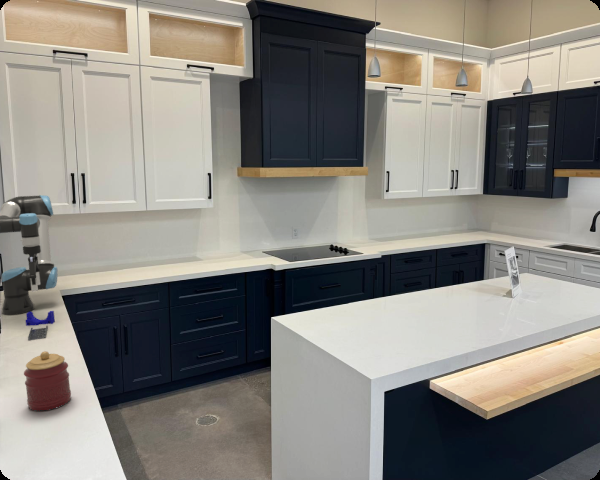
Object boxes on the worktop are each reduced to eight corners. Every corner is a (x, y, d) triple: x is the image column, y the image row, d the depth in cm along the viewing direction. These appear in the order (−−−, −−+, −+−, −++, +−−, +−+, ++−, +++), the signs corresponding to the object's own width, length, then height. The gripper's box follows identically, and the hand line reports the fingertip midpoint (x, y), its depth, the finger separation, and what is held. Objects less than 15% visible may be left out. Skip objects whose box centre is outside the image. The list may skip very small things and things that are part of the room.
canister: (25, 415, 157) (19, 362, 154) (29, 398, 169) (23, 348, 166) (71, 406, 162) (65, 354, 159) (71, 390, 174) (66, 342, 171)
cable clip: (26, 326, 247) (24, 314, 246) (30, 323, 251) (29, 311, 251) (50, 325, 247) (49, 313, 247) (54, 322, 252) (53, 310, 251)
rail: (31, 330, 239) (31, 327, 239) (47, 328, 242) (47, 325, 242) (28, 340, 225) (28, 337, 225) (45, 338, 228) (45, 335, 228)
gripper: (25, 242, 252) (30, 283, 256) (19, 250, 230) (24, 294, 233) (42, 241, 255) (46, 281, 259) (37, 248, 233) (42, 292, 236)
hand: (36, 288), depth 246 cm, fingers open, 13 cm apart
